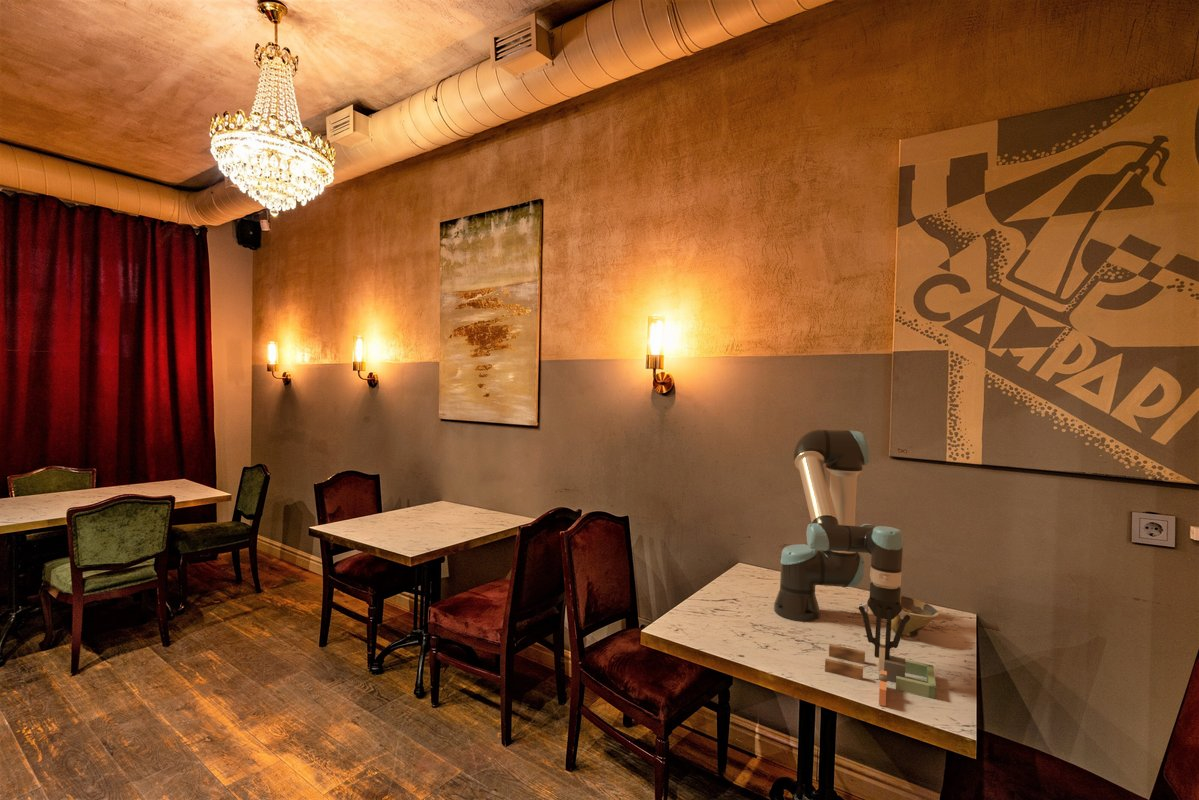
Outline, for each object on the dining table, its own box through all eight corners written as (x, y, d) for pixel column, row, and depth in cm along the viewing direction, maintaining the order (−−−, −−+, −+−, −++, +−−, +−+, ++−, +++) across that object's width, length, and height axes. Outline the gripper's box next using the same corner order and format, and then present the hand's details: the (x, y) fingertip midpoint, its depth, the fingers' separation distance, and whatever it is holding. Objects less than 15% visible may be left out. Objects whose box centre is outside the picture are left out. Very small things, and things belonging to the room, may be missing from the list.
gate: (877, 704, 141) (878, 684, 141) (878, 684, 151) (879, 666, 151) (886, 706, 141) (887, 686, 140) (887, 686, 150) (888, 667, 150)
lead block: (883, 679, 154) (884, 661, 154) (884, 671, 159) (884, 654, 159) (904, 684, 152) (905, 666, 152) (904, 676, 156) (905, 658, 156)
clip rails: (824, 671, 158) (825, 660, 158) (829, 654, 169) (829, 644, 169) (862, 680, 154) (862, 669, 154) (864, 662, 164) (865, 651, 164)
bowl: (919, 649, 174) (920, 618, 173) (864, 627, 189) (865, 599, 189) (949, 637, 183) (950, 608, 183) (895, 618, 198) (896, 590, 198)
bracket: (895, 689, 149) (896, 678, 149) (895, 667, 161) (896, 657, 161) (935, 699, 145) (936, 687, 145) (932, 676, 157) (933, 665, 157)
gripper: (858, 583, 156) (854, 669, 156) (912, 593, 150) (908, 682, 150) (860, 576, 163) (856, 658, 163) (912, 585, 157) (907, 670, 157)
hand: (881, 669), depth 157 cm, fingers closed
